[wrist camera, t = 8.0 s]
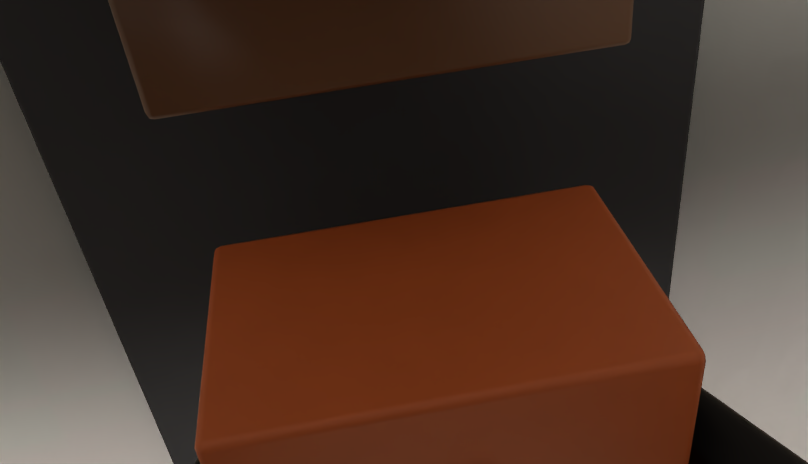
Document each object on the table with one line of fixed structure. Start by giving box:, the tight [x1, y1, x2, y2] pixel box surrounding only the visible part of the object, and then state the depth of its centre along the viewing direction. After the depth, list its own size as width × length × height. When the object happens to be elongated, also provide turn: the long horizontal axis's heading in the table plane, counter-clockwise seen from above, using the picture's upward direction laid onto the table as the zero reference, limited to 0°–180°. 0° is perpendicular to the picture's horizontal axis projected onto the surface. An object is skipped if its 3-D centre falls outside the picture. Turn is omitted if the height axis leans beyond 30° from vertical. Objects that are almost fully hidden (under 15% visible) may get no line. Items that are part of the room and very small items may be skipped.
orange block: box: [194, 185, 706, 464], centre depth 9 cm, size 4×4×3 cm
